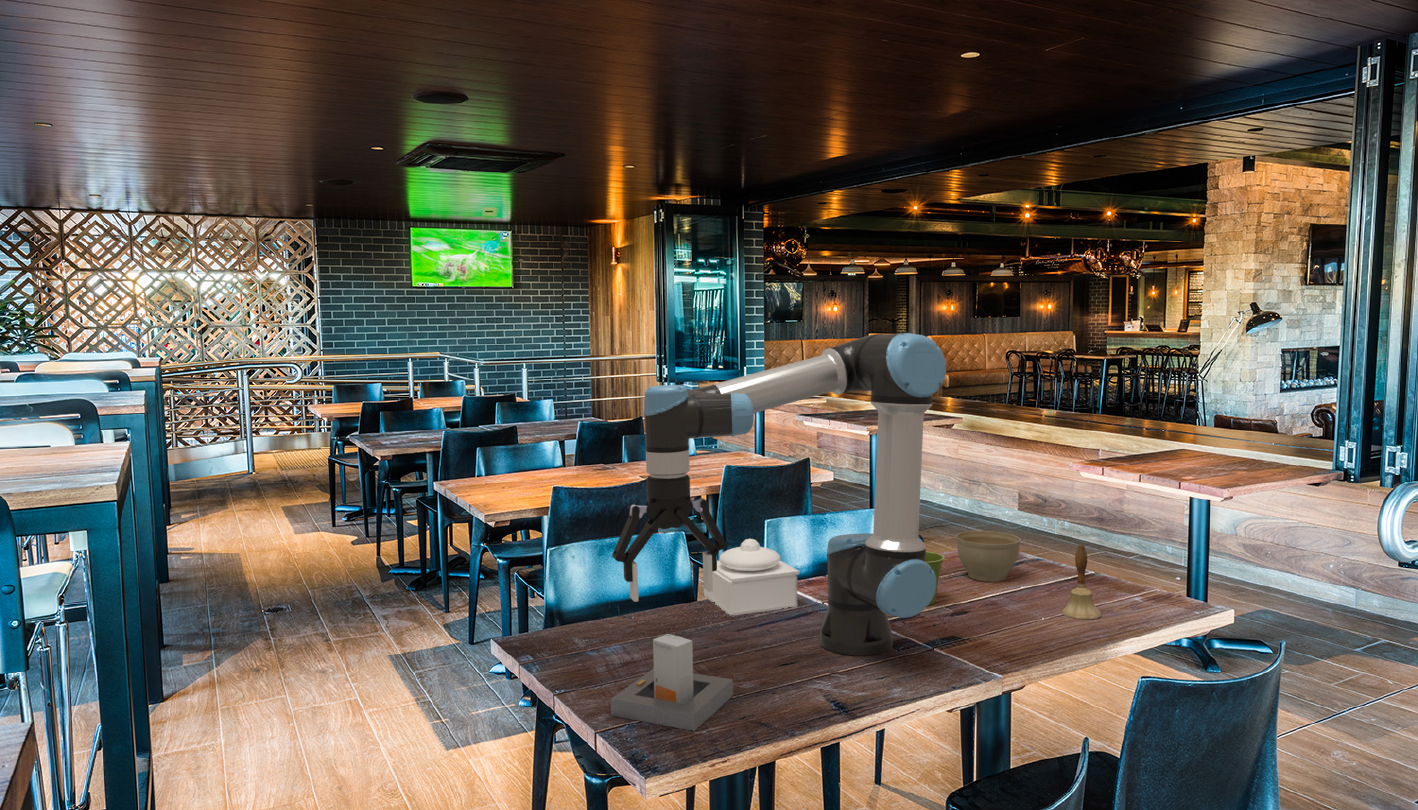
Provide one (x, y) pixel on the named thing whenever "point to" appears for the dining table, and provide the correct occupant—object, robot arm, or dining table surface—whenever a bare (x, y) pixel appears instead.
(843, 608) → the robot arm
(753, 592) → the butter dish
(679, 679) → the skincare box
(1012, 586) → the dining table surface
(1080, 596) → the hand bell
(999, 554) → the planter bowl
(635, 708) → the collar
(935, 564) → the plant pot
